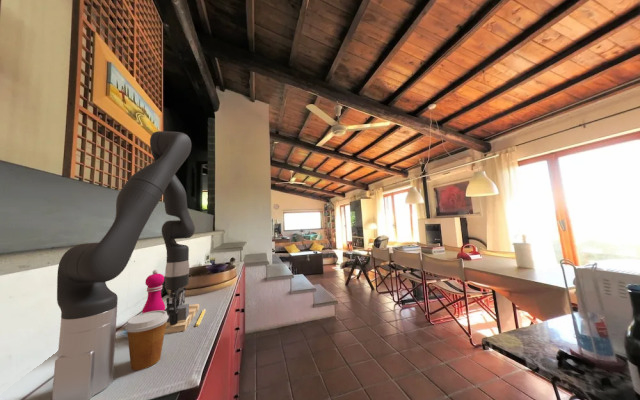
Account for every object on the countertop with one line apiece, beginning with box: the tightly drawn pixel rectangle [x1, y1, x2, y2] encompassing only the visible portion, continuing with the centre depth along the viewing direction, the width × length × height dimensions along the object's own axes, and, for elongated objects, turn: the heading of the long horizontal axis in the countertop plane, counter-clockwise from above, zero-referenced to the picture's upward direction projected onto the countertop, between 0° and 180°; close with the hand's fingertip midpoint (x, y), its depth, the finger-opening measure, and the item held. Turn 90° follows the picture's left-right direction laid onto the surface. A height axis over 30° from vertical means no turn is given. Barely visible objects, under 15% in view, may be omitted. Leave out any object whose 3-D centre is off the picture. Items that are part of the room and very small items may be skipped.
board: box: [164, 303, 200, 335], centre depth 86 cm, size 22×8×2 cm, turn 17°
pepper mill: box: [141, 269, 166, 314], centre depth 86 cm, size 7×7×20 cm
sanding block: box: [164, 303, 190, 325], centre depth 81 cm, size 4×7×5 cm, turn 108°
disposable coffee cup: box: [124, 310, 169, 371], centre depth 60 cm, size 10×10×12 cm
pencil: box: [195, 308, 206, 327], centre depth 87 cm, size 16×1×1 cm, turn 19°
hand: (176, 320), depth 80 cm, fingers open, 4 cm apart
